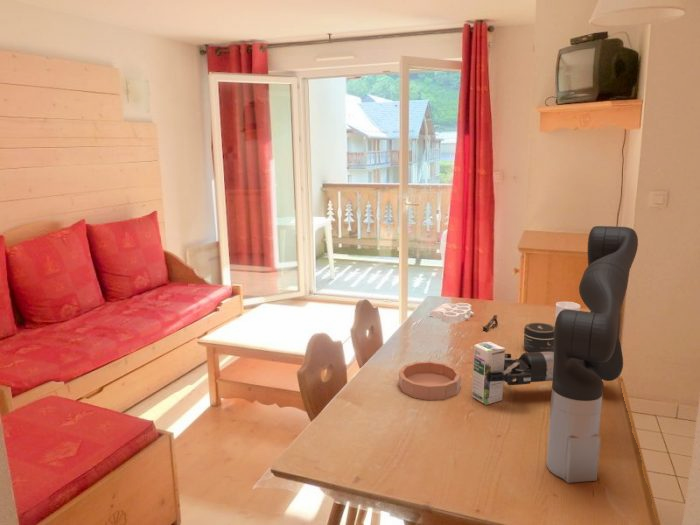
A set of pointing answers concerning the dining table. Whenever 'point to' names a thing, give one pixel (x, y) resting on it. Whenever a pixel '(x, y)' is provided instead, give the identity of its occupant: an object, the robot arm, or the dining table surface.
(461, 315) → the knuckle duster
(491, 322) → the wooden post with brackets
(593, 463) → the robot arm
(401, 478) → the dining table surface
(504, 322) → the dining table surface
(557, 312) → the white cup
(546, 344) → the jar
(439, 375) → the bowl
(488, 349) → the syrup box
